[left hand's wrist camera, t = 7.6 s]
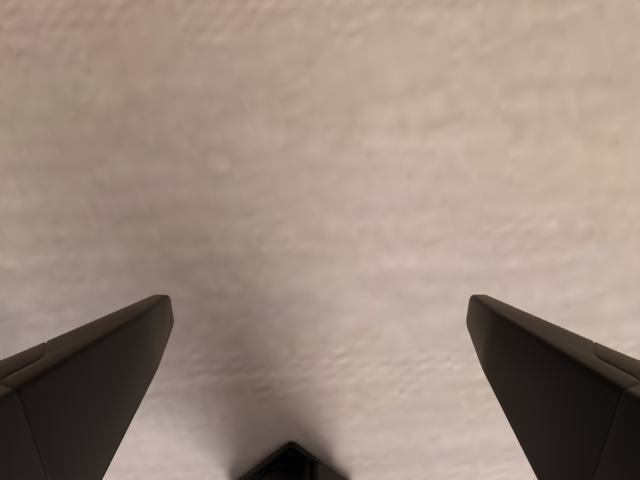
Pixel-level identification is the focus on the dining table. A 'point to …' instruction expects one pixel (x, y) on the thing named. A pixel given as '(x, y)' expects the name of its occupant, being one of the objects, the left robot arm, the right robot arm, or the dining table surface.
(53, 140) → the dining table surface
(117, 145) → the dining table surface
